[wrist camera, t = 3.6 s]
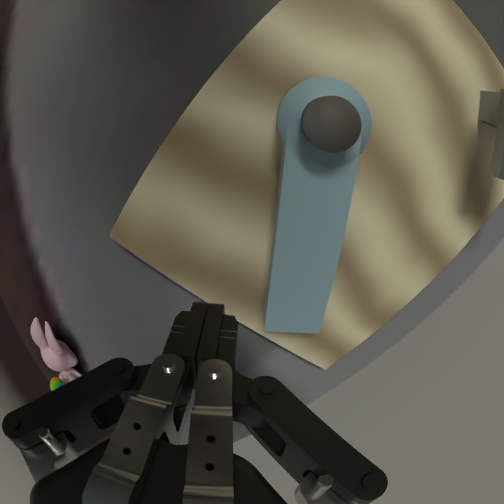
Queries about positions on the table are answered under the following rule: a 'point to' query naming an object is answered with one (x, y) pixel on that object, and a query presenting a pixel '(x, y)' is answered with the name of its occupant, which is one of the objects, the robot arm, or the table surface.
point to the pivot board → (392, 172)
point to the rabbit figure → (55, 354)
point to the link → (309, 211)
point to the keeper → (498, 116)
